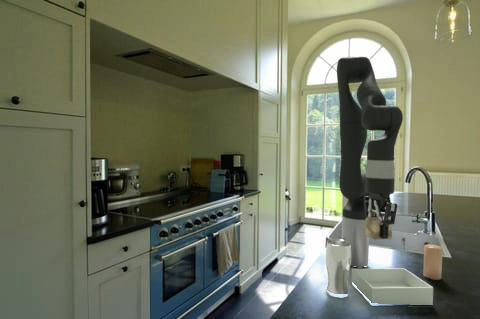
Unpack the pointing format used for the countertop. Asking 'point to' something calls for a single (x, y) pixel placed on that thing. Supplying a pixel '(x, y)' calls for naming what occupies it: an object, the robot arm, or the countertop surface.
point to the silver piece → (338, 265)
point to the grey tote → (392, 286)
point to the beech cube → (375, 228)
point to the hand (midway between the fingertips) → (378, 234)
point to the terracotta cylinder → (432, 261)
